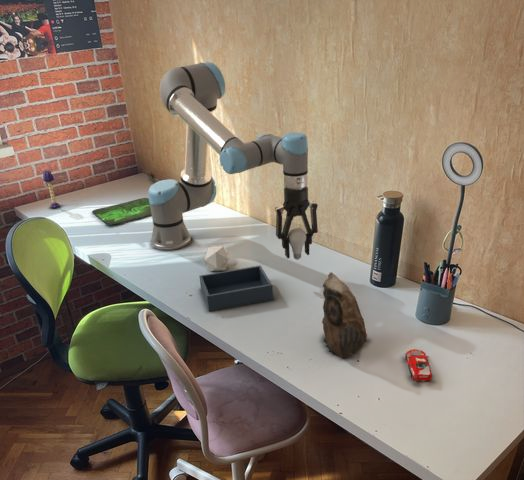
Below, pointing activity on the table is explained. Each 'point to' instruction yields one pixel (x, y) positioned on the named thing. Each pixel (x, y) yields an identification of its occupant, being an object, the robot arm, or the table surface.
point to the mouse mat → (124, 211)
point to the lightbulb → (297, 241)
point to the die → (217, 258)
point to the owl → (342, 319)
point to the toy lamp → (50, 188)
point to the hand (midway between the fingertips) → (297, 254)
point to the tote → (236, 288)
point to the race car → (418, 366)
